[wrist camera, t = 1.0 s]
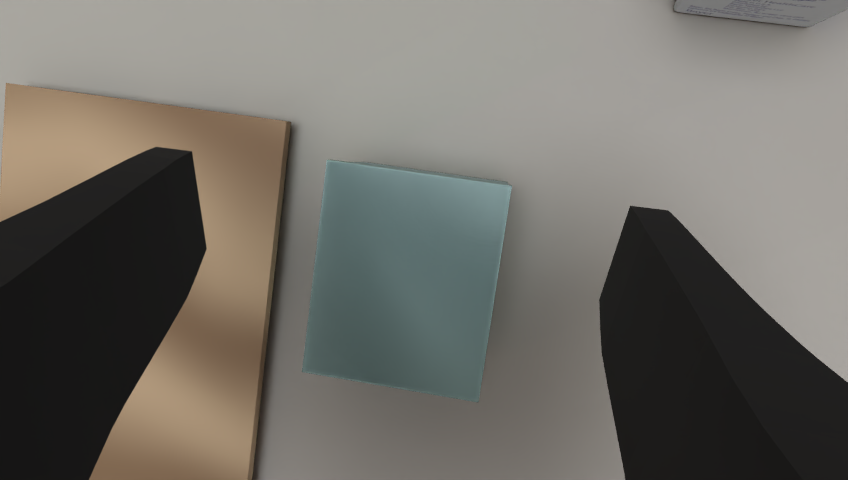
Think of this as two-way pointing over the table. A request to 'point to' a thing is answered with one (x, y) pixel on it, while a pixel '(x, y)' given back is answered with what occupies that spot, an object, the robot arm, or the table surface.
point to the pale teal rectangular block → (405, 277)
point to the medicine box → (766, 10)
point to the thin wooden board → (213, 286)
